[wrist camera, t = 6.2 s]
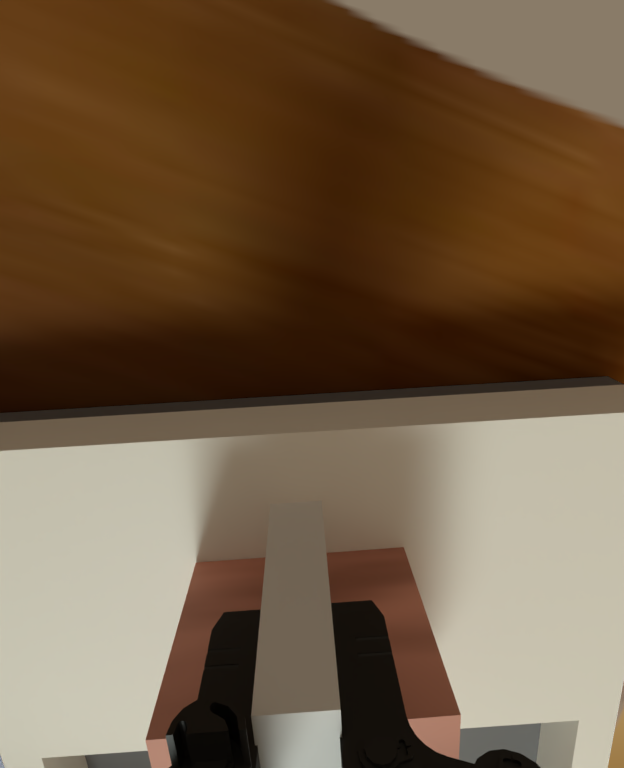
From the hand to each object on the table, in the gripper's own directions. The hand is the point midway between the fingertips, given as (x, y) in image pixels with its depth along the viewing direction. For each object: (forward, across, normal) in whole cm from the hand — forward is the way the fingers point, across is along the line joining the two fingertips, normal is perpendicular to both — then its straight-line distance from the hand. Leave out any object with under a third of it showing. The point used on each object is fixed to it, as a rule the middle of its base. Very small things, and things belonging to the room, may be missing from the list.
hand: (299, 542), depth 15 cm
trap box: (+5, 0, -13) cm, 14 cm away
